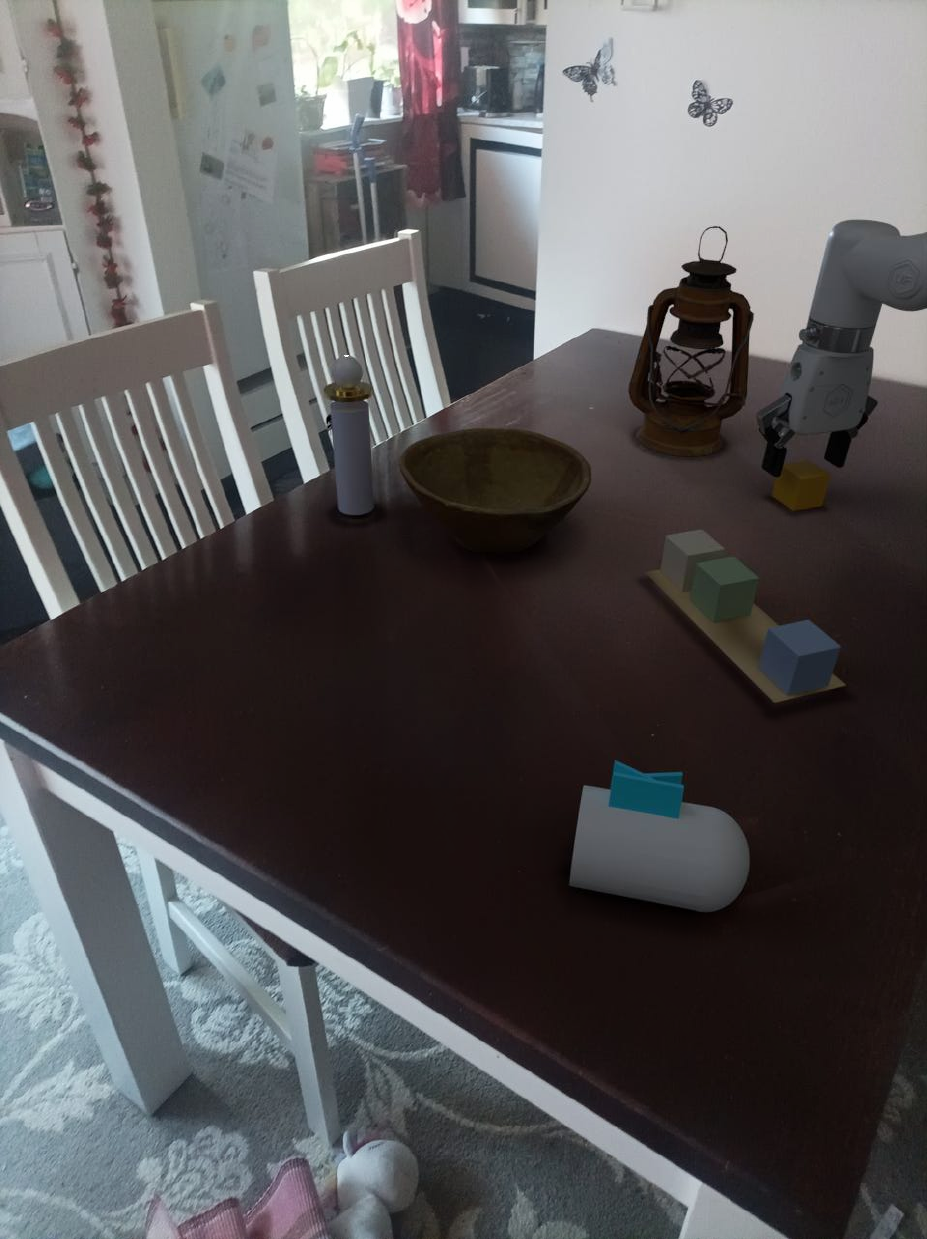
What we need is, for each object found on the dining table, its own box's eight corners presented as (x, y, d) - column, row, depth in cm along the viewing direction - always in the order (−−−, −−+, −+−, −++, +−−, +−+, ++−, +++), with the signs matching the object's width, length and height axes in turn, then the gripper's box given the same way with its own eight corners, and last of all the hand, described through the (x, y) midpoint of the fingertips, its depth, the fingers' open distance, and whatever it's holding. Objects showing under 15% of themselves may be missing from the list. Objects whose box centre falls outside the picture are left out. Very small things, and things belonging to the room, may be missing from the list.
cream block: (695, 564, 99) (702, 529, 97) (717, 585, 96) (725, 548, 93) (659, 571, 98) (665, 535, 95) (681, 592, 94) (688, 555, 92)
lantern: (735, 428, 135) (777, 219, 118) (738, 462, 125) (784, 238, 108) (626, 417, 138) (651, 212, 121) (619, 450, 128) (646, 230, 111)
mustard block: (800, 491, 117) (808, 459, 115) (822, 506, 114) (831, 474, 111) (771, 496, 116) (779, 464, 113) (793, 511, 112) (801, 478, 110)
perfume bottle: (387, 508, 112) (381, 353, 100) (361, 526, 108) (351, 367, 96) (351, 497, 114) (340, 345, 103) (324, 515, 110) (310, 358, 99)
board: (704, 567, 101) (706, 560, 100) (843, 693, 82) (846, 685, 81) (643, 579, 98) (644, 571, 98) (772, 710, 80) (774, 702, 79)
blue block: (797, 658, 85) (808, 619, 82) (828, 686, 81) (841, 646, 79) (757, 667, 84) (767, 627, 81) (787, 696, 80) (798, 656, 77)
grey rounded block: (769, 813, 56) (582, 781, 58) (745, 940, 58) (565, 905, 60) (748, 753, 67) (593, 728, 69) (729, 861, 69) (578, 834, 71)
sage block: (726, 592, 94) (733, 555, 92) (750, 615, 91) (759, 577, 88) (689, 599, 93) (696, 562, 90) (712, 623, 90) (720, 585, 87)
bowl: (412, 596, 95) (410, 515, 89) (393, 501, 113) (391, 429, 108) (606, 582, 98) (616, 502, 92) (556, 492, 116) (562, 421, 111)
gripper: (796, 351, 97) (762, 489, 107) (919, 339, 102) (876, 472, 112) (757, 332, 103) (728, 464, 113) (875, 320, 108) (837, 448, 118)
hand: (802, 468), depth 113 cm, fingers open, 9 cm apart
